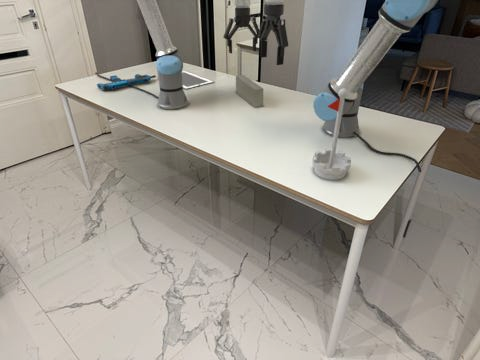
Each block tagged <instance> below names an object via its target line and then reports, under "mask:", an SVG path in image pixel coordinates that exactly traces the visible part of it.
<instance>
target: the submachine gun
mask: <svg viewBox="0 0 480 360" xmlns="http://www.w3.org/2000/svg"><path fill="white" fill-rule="evenodd" d="M155 78H157V75H156V74H154V75H149V74H143V75H142V74H140V73H137V74H135V75H134V78H128V79H127V78H125V79H121V77H118V75H116V74H115V75H110V76H109V79H112V81H110V82H105V83H100V82H99V83H96V87H97V88H99V89H100V90H101V91H103V92H104V91H109V90H111V91H112V90H114V91H116V90H117V89H119V88H123V87H129V86H128V85H131V86H134V85H138V84H141V83H148V82H150V81H151V80H152V79H155Z"/></svg>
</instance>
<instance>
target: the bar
mask: <svg viewBox="0 0 480 360" xmlns="http://www.w3.org/2000/svg"><path fill="white" fill-rule="evenodd" d="M235 93H236V94H237V95H239V96H240V97H241V98H243V100H244V101H246V102H247V103H249V104H250V105H251V106H252V107H253V108H260V107H264V87H262V86H260V85H259V84H258V83H256V82H254V81H253V80H252V79H250V78H249V77H247V76H246V75H245V74H240V75H235Z"/></svg>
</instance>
